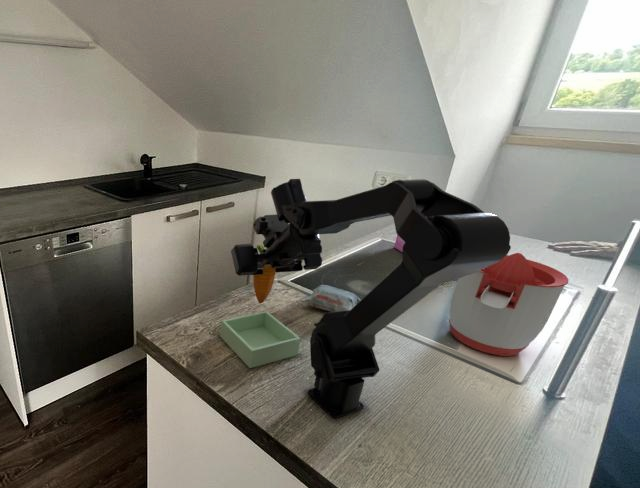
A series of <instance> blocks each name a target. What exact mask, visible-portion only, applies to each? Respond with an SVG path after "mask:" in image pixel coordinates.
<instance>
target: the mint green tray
mask: <svg viewBox="0 0 640 488" xmlns="http://www.w3.org/2000/svg"><path fill="white" fill-rule="evenodd" d="M219 337H220V338H221V339H222V340H223V341H224V343H226V344H227V345H228V347H229V348H230V349H231V350H232V351H233V352H234V353H235V354H236V355H237V357H238V358H240V359H241V360H242V362H243V363H244V364H245V365H246V366H247V367H248V368H249V369H253V368H256V367H259V366H263V365H267V364H270V363H274V362H278V361H281V360H285V359H289V358H293V357H296V356H298V355H299V350H300V345H301V339H302V338H301V337H300V336H298V335H297V333H294V332H293V331H292V330H291V329H290V328H288V327H287V326H286V325H284V324H283V323H282V322H281V321H279V320H278V319H277V318H276V317H275V316H273V315H272V314H271V313H269V312H268V311H267V310H264V311H259V312H255V313H250V314H246V315H241V316H236V317H232V318H228V319H224V320H223V319H222V320H221V323H220V335H219Z"/></svg>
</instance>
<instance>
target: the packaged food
mask: <svg viewBox="0 0 640 488" xmlns="http://www.w3.org/2000/svg"><path fill="white" fill-rule="evenodd" d="M361 300H362V299H360V297H358V295H356V294H355V293H353V292H351V291H347V290H344V289H342V288H337V287H334V286H331V285H328V284H319V285H318V286H316V288H313V290H312V293H311V294H310V295H308V296H307V297H304V298H301V300H300V302H302V303H306V304H308V305H309V306H310V307H313V308H317V309H319V310H323V311H326V312H328V313H330V312H338V311H347V310H351V309H352V308H353V307H354V306H355V305H356V304H357V303H359V302H360V301H361Z"/></svg>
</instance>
